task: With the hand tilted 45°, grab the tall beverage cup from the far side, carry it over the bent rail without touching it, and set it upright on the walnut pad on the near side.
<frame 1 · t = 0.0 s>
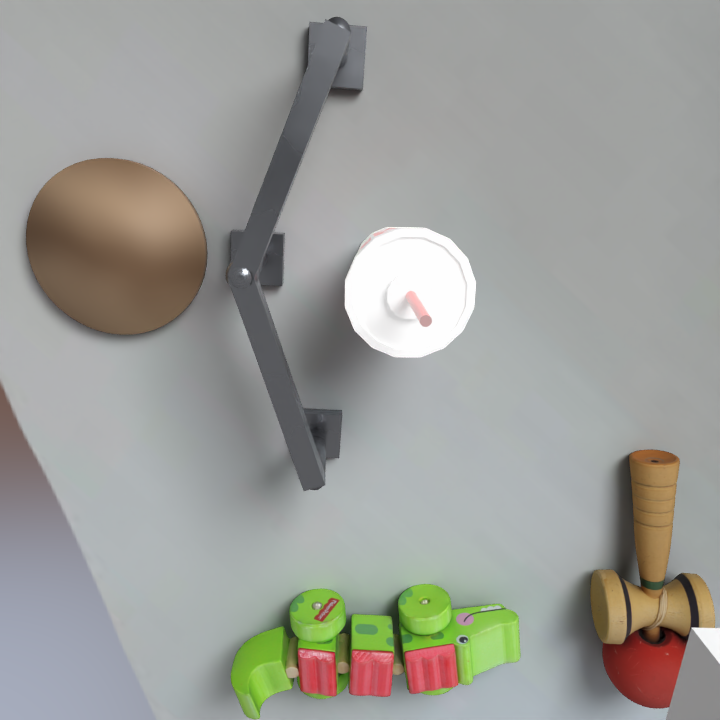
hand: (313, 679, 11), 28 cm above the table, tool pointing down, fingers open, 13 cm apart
beverage cup: (392, 264, 37), on the table
kendama: (630, 557, 44), on the table
toy crocodile: (375, 619, 45), on the table
bent rail: (258, 257, 36), on the table
walnut pad: (120, 248, 36), on the table
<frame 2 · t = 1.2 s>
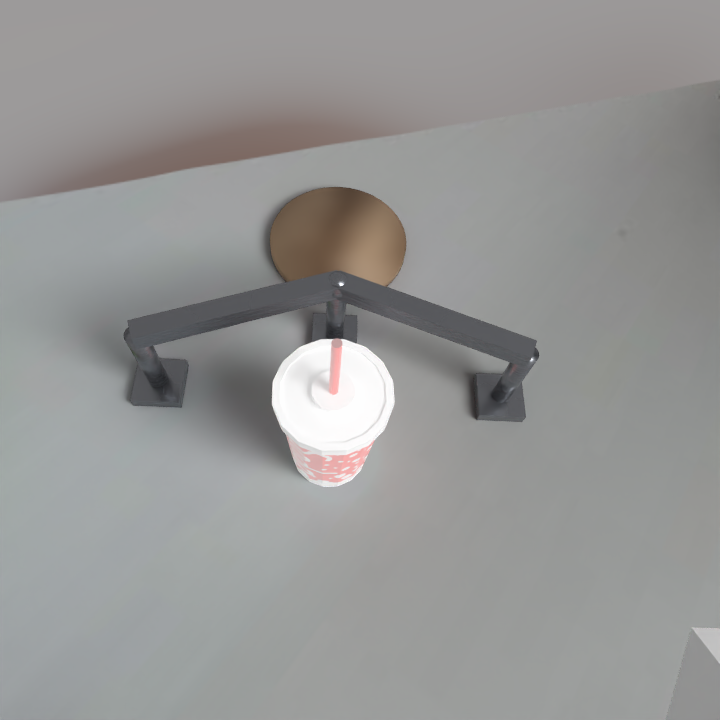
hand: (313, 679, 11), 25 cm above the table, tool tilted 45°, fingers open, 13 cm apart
beverage cup: (329, 452, 38), on the table
bent rail: (334, 339, 42), on the table
walnut pad: (338, 245, 45), on the table
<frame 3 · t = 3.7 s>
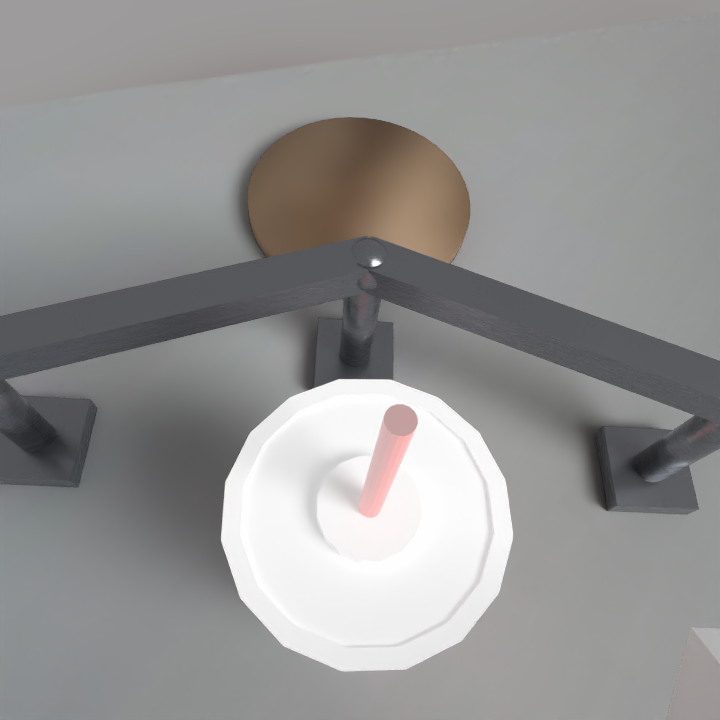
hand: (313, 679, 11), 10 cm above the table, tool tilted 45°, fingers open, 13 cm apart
beverage cup: (345, 573, 21), on the table
bent rail: (353, 362, 24), on the table
walnut pad: (358, 208, 28), on the table
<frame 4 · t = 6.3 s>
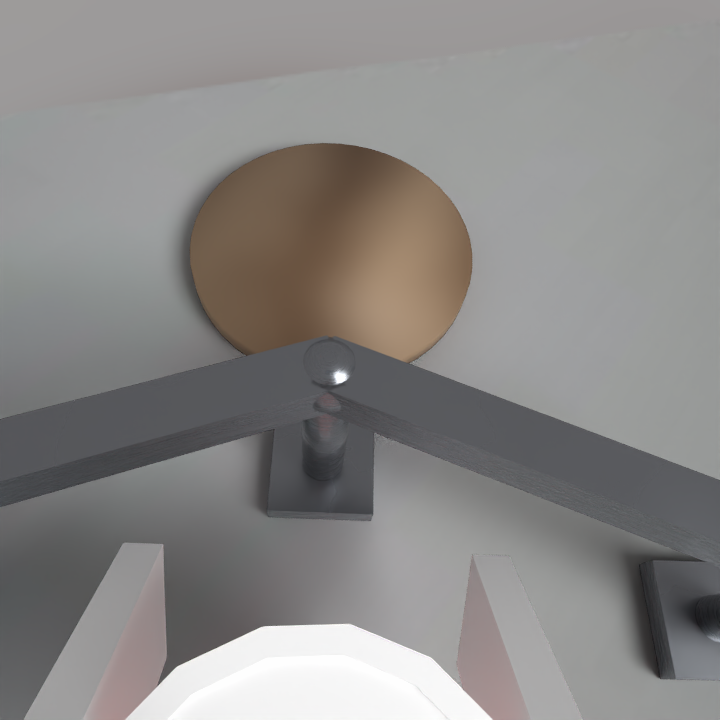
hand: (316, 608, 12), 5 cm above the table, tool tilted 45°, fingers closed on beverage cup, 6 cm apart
bent rail: (322, 469, 19), on the table
walnut pad: (332, 258, 22), on the table
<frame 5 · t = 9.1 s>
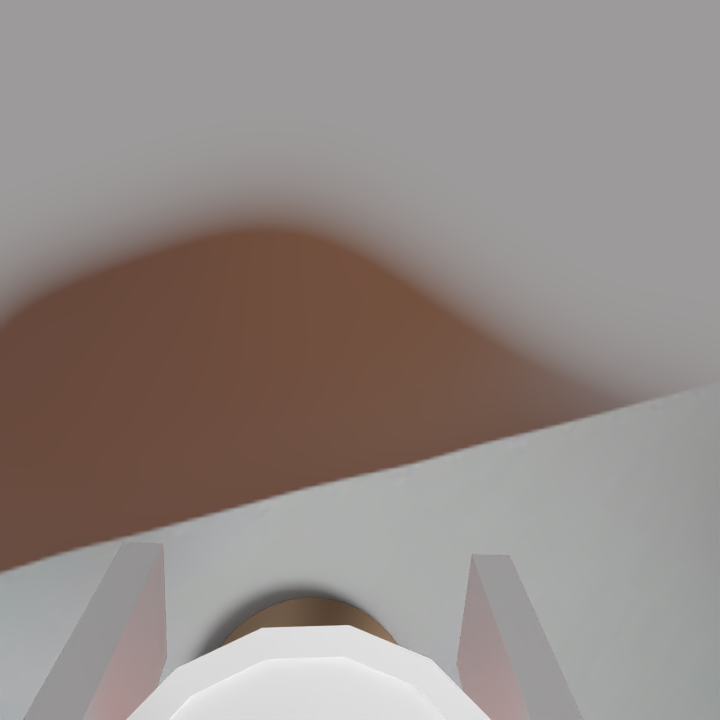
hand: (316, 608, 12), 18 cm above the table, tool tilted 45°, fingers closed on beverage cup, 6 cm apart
when the fingers open (7 cm above the table, at t = 12.0 s): beverage cup drops 1 cm, resting on walnut pad.
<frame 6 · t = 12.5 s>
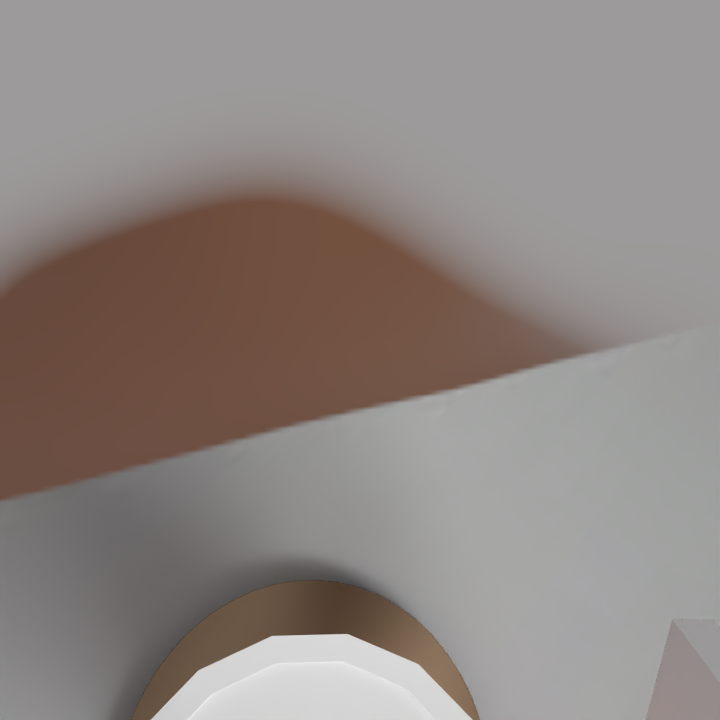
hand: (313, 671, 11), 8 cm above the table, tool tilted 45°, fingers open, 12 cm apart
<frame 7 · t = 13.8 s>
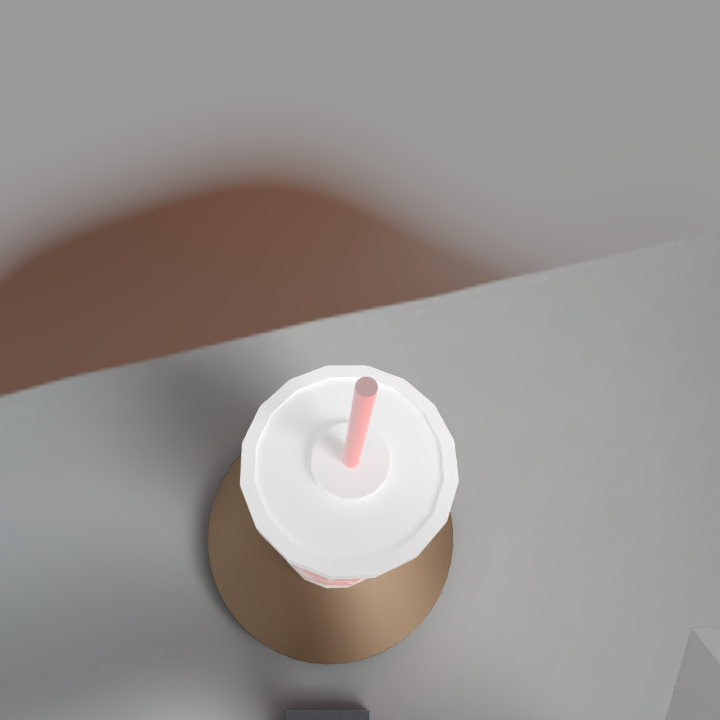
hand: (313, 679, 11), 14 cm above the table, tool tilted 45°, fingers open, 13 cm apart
beverage cup: (335, 530, 25), point 1 cm above the table, touching walnut pad
walnut pad: (331, 531, 26), on the table
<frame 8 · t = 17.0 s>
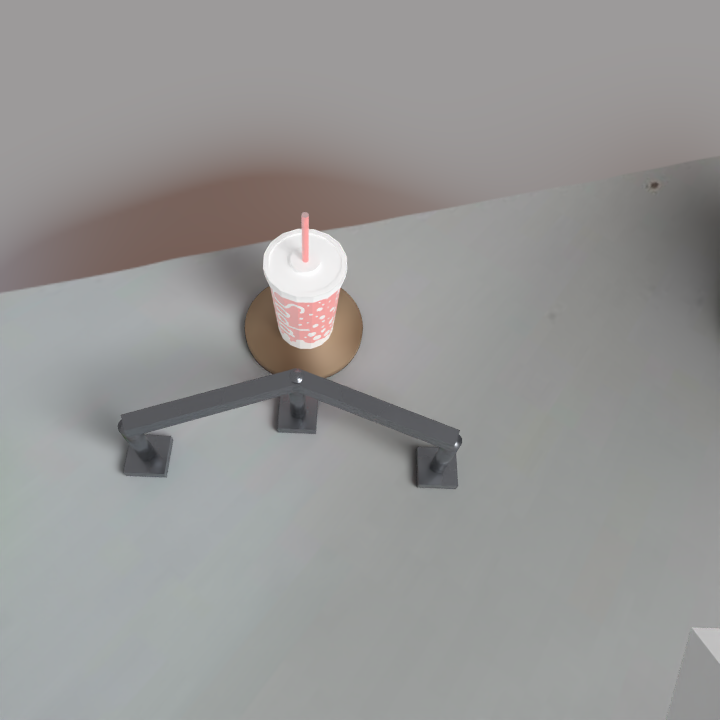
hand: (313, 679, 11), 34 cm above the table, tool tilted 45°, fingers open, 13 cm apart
beverage cup: (305, 326, 52), point 1 cm above the table, touching walnut pad
bent rail: (298, 415, 49), on the table
walnut pad: (304, 329, 53), on the table
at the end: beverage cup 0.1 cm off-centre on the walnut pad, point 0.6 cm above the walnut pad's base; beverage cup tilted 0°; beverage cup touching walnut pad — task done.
